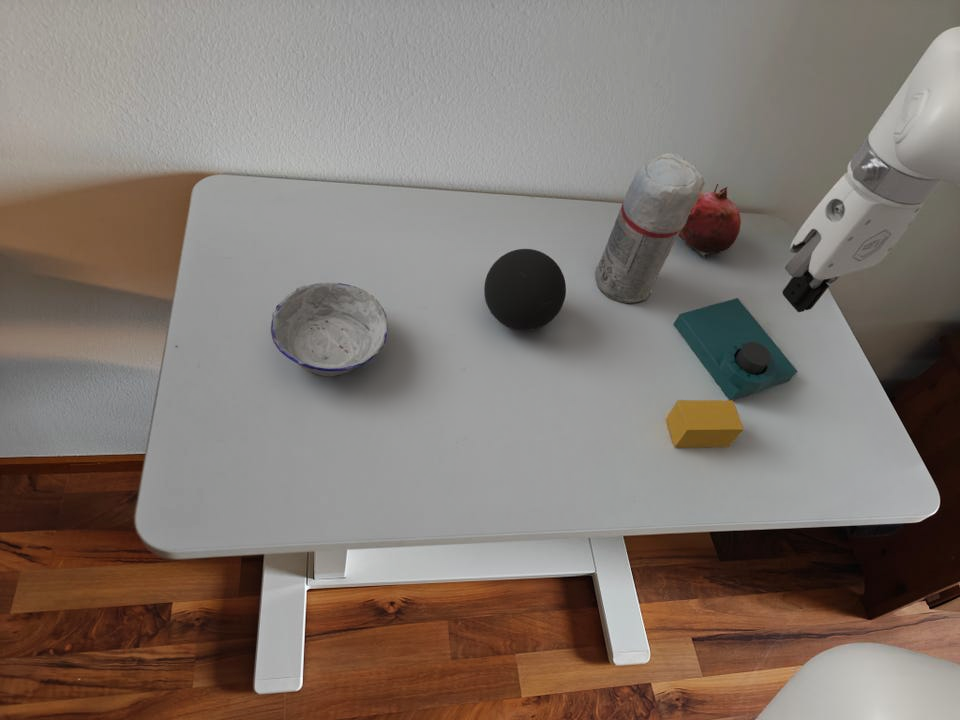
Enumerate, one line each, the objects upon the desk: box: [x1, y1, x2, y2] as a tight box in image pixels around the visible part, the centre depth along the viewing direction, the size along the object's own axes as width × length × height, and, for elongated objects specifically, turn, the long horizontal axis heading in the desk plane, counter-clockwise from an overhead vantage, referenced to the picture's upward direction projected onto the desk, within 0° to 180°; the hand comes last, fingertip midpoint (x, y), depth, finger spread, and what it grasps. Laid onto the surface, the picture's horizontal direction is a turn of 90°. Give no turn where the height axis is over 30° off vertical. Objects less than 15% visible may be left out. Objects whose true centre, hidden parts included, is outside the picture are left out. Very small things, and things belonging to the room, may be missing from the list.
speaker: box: [483, 248, 567, 332], centre depth 89 cm, size 10×10×10 cm
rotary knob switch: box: [673, 297, 798, 401], centre depth 94 cm, size 14×10×4 cm
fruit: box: [678, 183, 742, 259], centre depth 104 cm, size 9×10×10 cm
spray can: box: [594, 152, 705, 304], centre depth 92 cm, size 8×8×20 cm
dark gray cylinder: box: [736, 342, 771, 375], centre depth 89 cm, size 4×4×2 cm
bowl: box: [270, 282, 389, 377], centre depth 84 cm, size 13×13×5 cm
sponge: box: [665, 399, 745, 449], centre depth 85 cm, size 7×4×4 cm, turn 96°
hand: (795, 301), depth 81 cm, fingers closed
